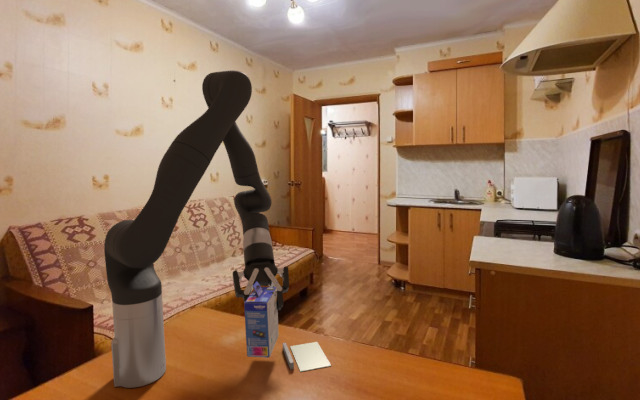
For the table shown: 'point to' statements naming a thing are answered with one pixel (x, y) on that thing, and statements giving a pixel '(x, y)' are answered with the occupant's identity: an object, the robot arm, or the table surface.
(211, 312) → the table surface
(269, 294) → the ink cartridge box
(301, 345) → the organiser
